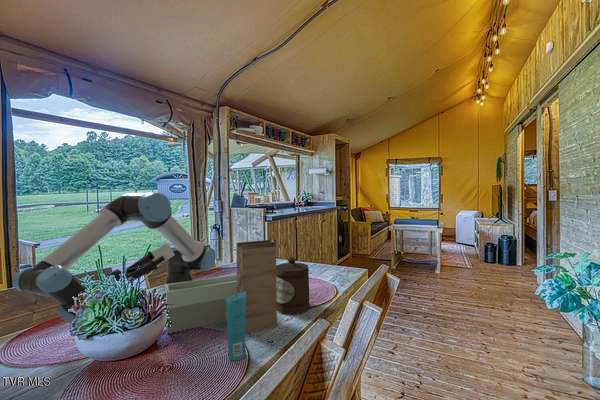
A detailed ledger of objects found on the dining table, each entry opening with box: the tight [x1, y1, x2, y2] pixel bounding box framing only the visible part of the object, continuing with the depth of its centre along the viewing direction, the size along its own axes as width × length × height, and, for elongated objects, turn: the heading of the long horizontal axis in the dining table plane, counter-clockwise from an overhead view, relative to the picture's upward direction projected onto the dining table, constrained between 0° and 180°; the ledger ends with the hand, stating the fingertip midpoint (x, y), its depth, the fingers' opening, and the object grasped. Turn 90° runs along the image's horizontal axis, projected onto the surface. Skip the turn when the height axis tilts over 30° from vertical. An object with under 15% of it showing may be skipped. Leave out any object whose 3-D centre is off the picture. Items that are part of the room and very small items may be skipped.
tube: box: [225, 291, 246, 361], centre depth 88 cm, size 7×5×19 cm, turn 140°
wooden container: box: [276, 256, 310, 316], centre depth 125 cm, size 15×15×22 cm
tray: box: [164, 273, 237, 335], centre depth 114 cm, size 10×31×15 cm, turn 119°
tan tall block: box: [236, 239, 278, 335], centre depth 108 cm, size 7×13×32 cm, turn 119°
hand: (171, 248), depth 107 cm, fingers open, 13 cm apart
